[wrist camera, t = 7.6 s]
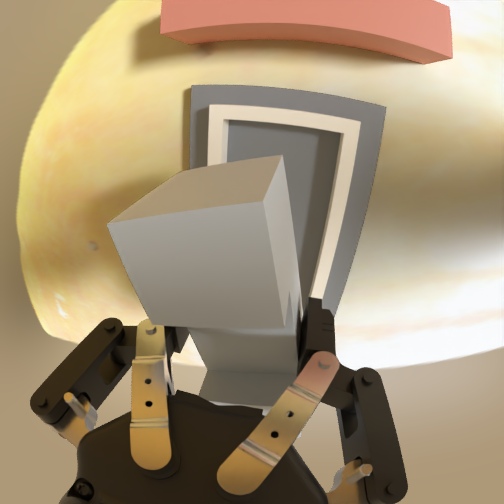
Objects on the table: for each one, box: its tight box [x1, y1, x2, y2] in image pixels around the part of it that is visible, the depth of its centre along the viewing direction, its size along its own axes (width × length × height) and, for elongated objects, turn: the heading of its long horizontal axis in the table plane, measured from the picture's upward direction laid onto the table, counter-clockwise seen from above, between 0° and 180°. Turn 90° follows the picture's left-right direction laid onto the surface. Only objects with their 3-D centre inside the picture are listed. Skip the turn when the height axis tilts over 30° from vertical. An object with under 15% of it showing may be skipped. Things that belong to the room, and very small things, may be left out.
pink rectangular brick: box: [160, 0, 453, 65], centre depth 12 cm, size 18×4×5 cm, turn 89°
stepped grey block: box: [107, 155, 303, 437], centre depth 13 cm, size 5×14×6 cm, turn 11°
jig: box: [190, 85, 386, 317], centre depth 22 cm, size 14×22×2 cm, turn 176°
